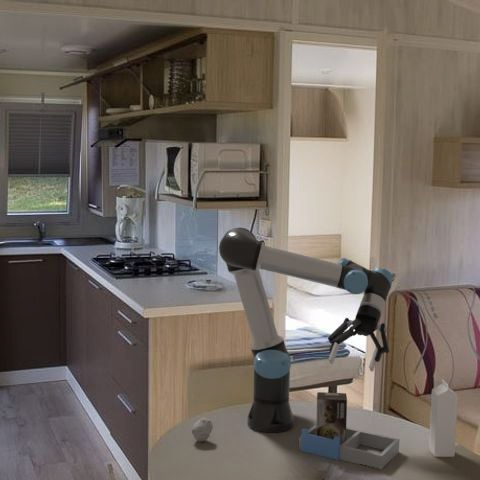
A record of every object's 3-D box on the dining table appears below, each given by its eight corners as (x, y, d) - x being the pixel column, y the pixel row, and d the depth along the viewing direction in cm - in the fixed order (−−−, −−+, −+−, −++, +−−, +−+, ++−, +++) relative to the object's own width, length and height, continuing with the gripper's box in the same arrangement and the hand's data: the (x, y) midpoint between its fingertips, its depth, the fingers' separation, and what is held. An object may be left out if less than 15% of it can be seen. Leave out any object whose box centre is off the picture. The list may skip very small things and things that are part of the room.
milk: (447, 449, 227) (452, 378, 225) (454, 457, 221) (459, 385, 219) (428, 449, 227) (432, 378, 224) (434, 457, 221) (438, 384, 218)
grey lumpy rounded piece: (217, 440, 230) (217, 418, 229) (200, 446, 225) (200, 424, 224) (203, 435, 234) (204, 413, 233) (186, 440, 229) (187, 419, 228)
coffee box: (345, 443, 230) (347, 392, 228) (345, 451, 223) (347, 399, 221) (315, 441, 231) (317, 391, 229) (315, 450, 224) (317, 398, 222)
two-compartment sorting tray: (298, 450, 224) (298, 428, 223) (319, 433, 237) (320, 413, 236) (380, 470, 211) (381, 447, 210) (398, 451, 224) (399, 430, 223)
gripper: (409, 322, 241) (391, 378, 230) (338, 311, 254) (317, 364, 243) (404, 308, 236) (385, 366, 225) (332, 299, 249) (311, 352, 238)
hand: (350, 365), depth 234 cm, fingers open, 13 cm apart
